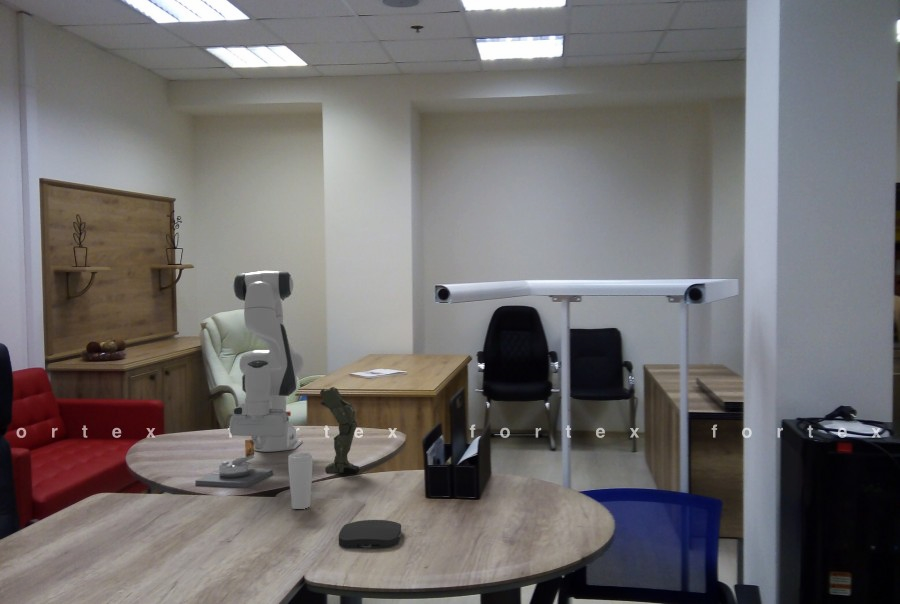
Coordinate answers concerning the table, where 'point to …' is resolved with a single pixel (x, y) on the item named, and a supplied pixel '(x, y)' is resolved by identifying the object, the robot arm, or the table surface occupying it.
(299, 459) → the drinking glass
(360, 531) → the media streaming box
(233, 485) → the housing plate
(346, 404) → the mechanical leg
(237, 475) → the lever
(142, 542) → the table surface
